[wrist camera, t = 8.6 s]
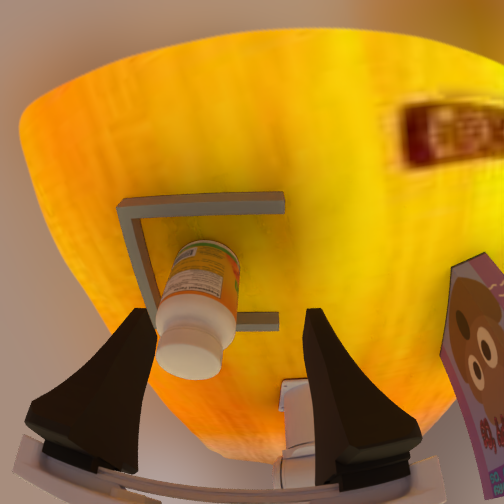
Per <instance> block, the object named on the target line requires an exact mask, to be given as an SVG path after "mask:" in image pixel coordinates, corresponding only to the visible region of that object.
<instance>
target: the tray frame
mask: <svg viewBox="0 0 504 504" xmlns="http://www.w3.org/2000/svg"><path fill="white" fill-rule="evenodd" d="M116 210H117V214H118V217H119V221H120V225H121V229H122V232H123V236H124V240H125V243H126V247H127V250H128V253H129V257H130V260H131V263H132V266H133V270H134V273H135V276H136V279H137V282H138V285H139V288H140V291H141V294H142V297H143V299H144V302H145V305H146V308H147V310H148V313H149V316H150V319H151V321H152V324H153V326H154V329H157V328H156V314H157V311H158V307H159V304H160V301H161V297H160V294H159V291H158V287H157V284H156V280H155V277H154V273H153V270H152V266H151V262H150V259H149V255H148V251H147V247H146V243H145V239H144V235H143V231H142V227H141V223H140V218H154V217H176V216H203V215H241V214H284V213H285V199H284V194H283V192H232V193H204V194H183V195H166V196H151V197H138V198H126V199H123V200H122V201H121V202H120V203H119V204H118V206H117V207H116ZM236 331H279V314H278V312H250V313H237V320H236Z"/></svg>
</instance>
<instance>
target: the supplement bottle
mask: <svg viewBox="0 0 504 504" xmlns="http://www.w3.org/2000/svg"><path fill="white" fill-rule="evenodd" d="M239 276H240V266H239V262H238V259H237V257H236V256H235V254H234V253H233V252H232V251H231V250H230V249H229V248H228V247H226V246H225V245H223V244H221V243H218V242H215V241H211V240H199V241H194V242H191V243H189V244H187V245H186V246H184V247H183V248H182V249H181V250H180V252H179V253H178V255H177V257H176V259H175V262H174V264H173V267H172V270H171V272H170V275H169V278H168V281H167V284H166V287H165V289H164V292H163V295H162V298H161V301H160V304H159V307H158V311H157V314H156V328H157V331H158V333H159V335H160V339H159V343H158V348H157V352H156V359H157V362H158V363H159V365H160V366H161V367H162V368H163V369H164V370H165V371H167V372H169V373H170V374H173V375H175V376H177V377H180V378H184V379H190V380H203V379H208V378H211V377H213V376H215V375H216V374H217V373H218V372H219V371H220V369H221V364H222V355H223V350H224V349H225V348H227V347H228V346H229V345H230V343H231V342H232V340H233V339H234V336H235V331H236V320H237V306H238V292H239Z"/></svg>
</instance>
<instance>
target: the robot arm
mask: <svg viewBox="0 0 504 504" xmlns="http://www.w3.org/2000/svg"><path fill="white" fill-rule="evenodd" d="M302 340H303V353H304V361H305V366H306V372H307V377H308V379H298V380H284V381H282V386H281V394H280V402H279V411H281V412H283V411H284V414H285V434H286V450H283V456H280V457H278V458H277V460H276V461H275V462H274V465H273V473H272V477H273V487H274V489H266V490H244V489H221V488H207V487H197V486H188V485H181V484H174V483H168V482H162V481H156V480H151V479H146V478H141V477H137V476H132V475H128V474H135V473H136V472H138V435H139V434H138V433H139V423H140V414H141V407H142V400H143V396H144V392H145V388H146V385H147V381H148V378H149V374H150V371H151V367H152V363H153V360H154V356H155V350H156V344H157V334H156V332H155V329H154V327H153V324H152V322H151V319H150V316H149V314H148V311H147V308H134V309H133V311H132V312H131V313H130V314H129V315H128V317H127V318H126V319H125V320H124V321H123V323H122V324H121V325H120V326H119V327H118V329H117V330H116V331H115V332H114V333H113V335H112V336H111V337H110V338H109V339H108V341H107V342H106V343H105V344H104V345H103V346H102V347H101V348H100V349H99V350H98V352H97V353H96V354H95V355H94V356H93V357H92V358H91V359H90V360H89V361H88V362H87V363H86V364H85V365H84V366H82V367H81V368H80V369H79V370H78V371H77V372H76V373H74V374H73V375H72V376H70V377H69V378H68V379H67V380H65V381H64V382H63V383H61V384H60V385H58V386H57V387H55V388H54V389H53V390H51V391H49V392H48V393H46V394H44V395H42V396H40V397H39V398H37V399H35V400H33V401H32V403H31V405H30V407H29V410H28V413H27V415H26V419H25V424H26V425H27V426H28V427H29V428H30V429H31V430H33V431H34V432H35V433H37V434H38V435H40V436H41V437H42V438H44V439H45V442H44V444H43V443H42V442H40V441H38V440H35V439H33V438H31V437H29V436H27V435H25V434H24V435H23V437H22V440H21V443H20V446H19V449H18V453H17V456H16V460H15V463H14V467H13V471H12V472H13V474H15V475H17V476H18V477H20V478H21V479H23V480H25V481H26V482H28V483H30V484H32V485H33V486H35V487H37V488H39V489H40V490H42V491H44V492H46V493H47V494H49V495H51V496H53V497H55V498H57V499H59V500H61V501H63V502H65V503H67V504H162V503H161V501H158V500H155V499H152V498H149V497H146V496H145V495H140V494H137V493H133V492H130V491H127V490H126V489H125V488H129V489H134V490H137V491H142V492H146V493H151V494H156V495H161V496H167V497H172V498H179V499H186V500H194V501H203V502H213V503H229V504H442V503H445V502H446V501H447V498H446V492H445V487H444V481H443V477H442V472H441V467H440V463H439V458H438V456H437V455H435V456H433V457H430V458H427V459H424V460H421V461H418V462H415V463H413V464H410V465H409V463H408V460H409V459H410V452H409V451H410V450H411V449H413V448H414V447H416V446H417V445H418V444H419V443H421V441H422V434H421V431H420V428H419V425H418V423H417V421H416V419H414V418H413V417H411V416H410V415H409V414H407V413H406V412H405V411H403V410H402V409H401V408H399V407H398V406H397V405H396V404H395V403H393V402H392V401H391V400H390V399H389V398H388V397H387V396H386V395H385V394H383V393H382V392H381V391H380V390H379V389H378V388H377V387H376V386H375V385H374V384H373V383H372V382H371V381H370V380H369V378H368V377H367V376H366V375H365V374H364V373H363V372H362V370H361V369H360V368H359V367H358V365H357V364H356V363H355V362H354V360H353V359H352V358H351V356H350V355H349V353H348V352H347V351H346V349H345V348H344V346H343V345H342V343H341V342H340V340H339V339H338V337H337V335H336V334H335V332H334V330H333V329H332V327H331V325H330V324H329V322H328V320H327V318H326V316H325V314H324V312H323V310H322V309H321V308H310V309H307V310H306V317H305V324H304V330H303V337H302ZM114 470H115V471H114ZM117 471H119V472H117ZM121 472H124V473H121ZM125 473H128V474H125Z"/></svg>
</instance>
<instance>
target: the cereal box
mask: <svg viewBox="0 0 504 504" xmlns="http://www.w3.org/2000/svg"><path fill="white" fill-rule="evenodd" d="M440 357H441V360H442V362H443V365H444V367H445V369H446V372H447V374H448V377H449V379H450V382H451V384H452V387H453V389H454V392H455V395H456V397H457V400H458V403H459V406H460V409H461V412H462V414H463V417H464V420H465V424H466V427H467V429H468V433H469V436H470V439H471V443H472V447H473V450H474V454H475V458H476V462H477V465H478V470H479V474H480V479H481V483H482V488H483V493H484V499H485V500H489V499H493V498H498V497H502V496H504V274H503V273H502V272H501V271H500V269H499V268H498V267H497V266H496V264H495V263H494V262H493V261H492V260H491V259H490V257H489V256H488V255H487V254H486V253H485V252H483V253H481V254H479V255H477V256H475V257H473V258H470V259H468V260H466V261H464V262H461V263H459V264H457V265H455V266H452V267H451V276H450V288H449V298H448V307H447V314H446V321H445V328H444V334H443V340H442V345H441V350H440Z"/></svg>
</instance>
